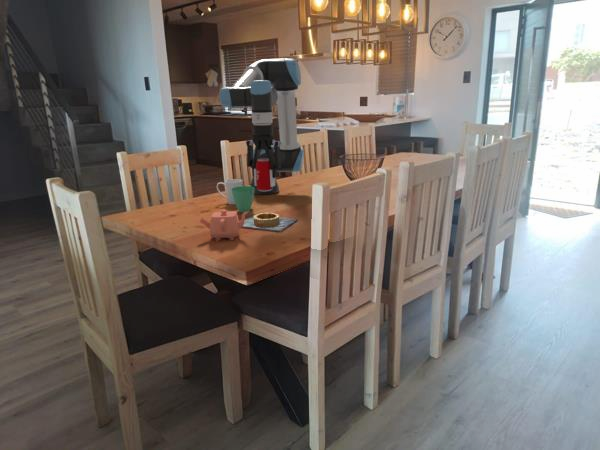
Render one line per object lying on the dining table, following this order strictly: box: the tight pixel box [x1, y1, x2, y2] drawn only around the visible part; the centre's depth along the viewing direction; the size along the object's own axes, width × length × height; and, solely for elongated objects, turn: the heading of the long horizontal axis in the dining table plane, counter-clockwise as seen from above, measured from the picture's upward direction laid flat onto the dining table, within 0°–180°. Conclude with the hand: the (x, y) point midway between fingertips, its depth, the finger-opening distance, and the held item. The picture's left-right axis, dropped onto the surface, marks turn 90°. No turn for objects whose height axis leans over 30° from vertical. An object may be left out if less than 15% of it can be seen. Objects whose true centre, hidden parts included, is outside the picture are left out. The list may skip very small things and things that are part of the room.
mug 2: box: [232, 185, 255, 213], centre depth 193 cm, size 15×10×10 cm
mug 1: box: [216, 178, 244, 206], centre depth 205 cm, size 12×8×10 cm, turn 91°
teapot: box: [199, 209, 251, 242], centre depth 157 cm, size 14×12×10 cm
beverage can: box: [256, 158, 273, 192], centre depth 168 cm, size 6×6×12 cm
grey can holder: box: [241, 212, 299, 233], centre depth 173 cm, size 16×20×3 cm
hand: (265, 185), depth 169 cm, fingers closed on beverage can, 6 cm apart
